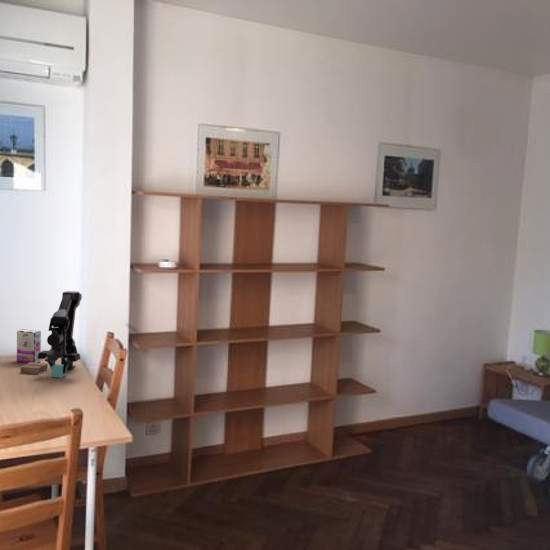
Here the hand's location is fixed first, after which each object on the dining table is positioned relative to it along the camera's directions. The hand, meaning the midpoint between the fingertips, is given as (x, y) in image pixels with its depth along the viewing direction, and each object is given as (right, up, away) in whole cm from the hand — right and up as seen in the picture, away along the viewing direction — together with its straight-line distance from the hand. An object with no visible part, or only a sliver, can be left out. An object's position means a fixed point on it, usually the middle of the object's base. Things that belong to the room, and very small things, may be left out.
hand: (58, 373), depth 286 cm
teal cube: (0, -1, 0) cm, 1 cm away
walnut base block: (-14, 0, +7) cm, 16 cm away
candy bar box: (-24, +2, +23) cm, 33 cm away
